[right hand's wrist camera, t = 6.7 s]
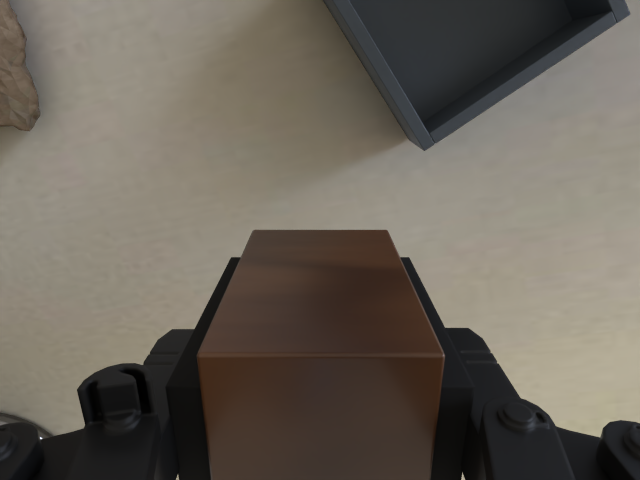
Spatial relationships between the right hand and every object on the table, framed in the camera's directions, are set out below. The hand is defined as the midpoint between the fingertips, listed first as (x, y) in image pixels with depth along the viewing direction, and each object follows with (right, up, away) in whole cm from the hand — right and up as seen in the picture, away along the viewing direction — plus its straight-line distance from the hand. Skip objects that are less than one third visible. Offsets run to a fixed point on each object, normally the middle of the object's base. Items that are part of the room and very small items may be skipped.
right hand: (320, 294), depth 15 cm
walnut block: (0, 0, 0) cm, 0 cm away
